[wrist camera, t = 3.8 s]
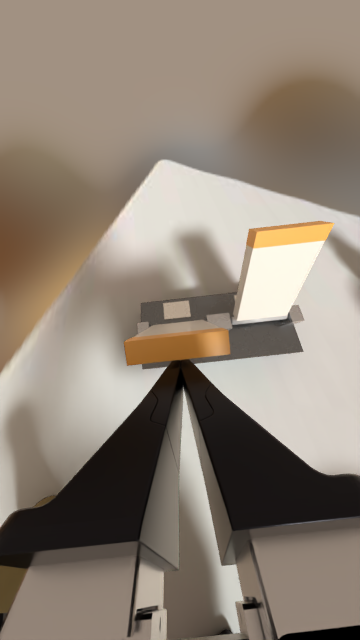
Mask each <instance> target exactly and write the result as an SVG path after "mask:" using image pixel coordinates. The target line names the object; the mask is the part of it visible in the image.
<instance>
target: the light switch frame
mask: <svg viewBox="0 0 360 640" xmlns="http://www.w3.org/2000/svg"><path fill="white" fill-rule="evenodd" d="M236 296H237V293H228V294H219V295H210V296H201V297H192V298H183V299H174V300H165V301H156V302H147V303H141V323H137V335H138V334H139V333H141V332H143V331H144V330H146V329H148V328H149V327H151V326H153V325H159V324H168V323H177V322H186V321H195V320H205V321H207V322H209V323H211V324H213V325H216V326H218V327H220V328H224V329H227V330H228V332H229V343H230V354H228V355H219V356H210V357H201V358H192V359H190V361H191V362H192V363H193V364H197V363H206V362H215V361H224V360H233V359H242V358H251V357H260V356H269V355H279V354H288V353H296V352H303V349H302V346H301V344H300V341H299V338H298V335H297V333H296V330H295V327H294V324H296V323H299V322H301V321H304V318H303V315H302V313H301V310H300V308H299V305H294V306H292V307H291V309H290V311H289V313H288V316H287V319H282V320H273V321H264V322H255V323H246V324H237V325H232V324H231V320H230V318H231V317H234V315H233V312H234V307H235V301H236ZM170 363H171V361H164V362H155V363H146V364H142V369H151V368H160V367H168V365H169V364H170Z"/></svg>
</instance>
